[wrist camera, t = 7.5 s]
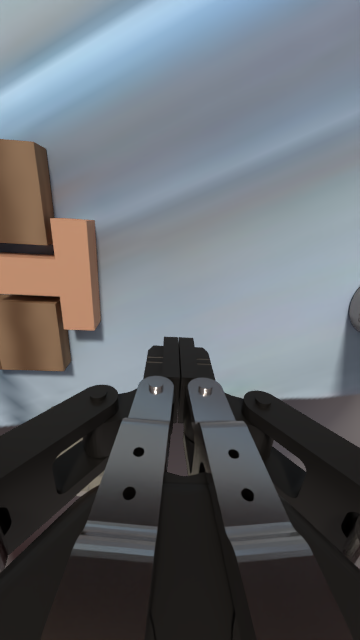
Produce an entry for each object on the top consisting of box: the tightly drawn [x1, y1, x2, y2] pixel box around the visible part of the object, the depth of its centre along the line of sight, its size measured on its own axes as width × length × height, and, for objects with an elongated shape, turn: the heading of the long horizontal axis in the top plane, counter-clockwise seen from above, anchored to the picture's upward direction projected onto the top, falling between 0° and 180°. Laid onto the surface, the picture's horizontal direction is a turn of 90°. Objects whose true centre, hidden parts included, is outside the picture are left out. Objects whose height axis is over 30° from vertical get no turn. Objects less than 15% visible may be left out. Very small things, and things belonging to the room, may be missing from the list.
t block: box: [0, 218, 101, 331], centre depth 28 cm, size 10×12×3 cm
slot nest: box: [0, 139, 71, 371], centre depth 28 cm, size 10×24×2 cm, turn 176°
